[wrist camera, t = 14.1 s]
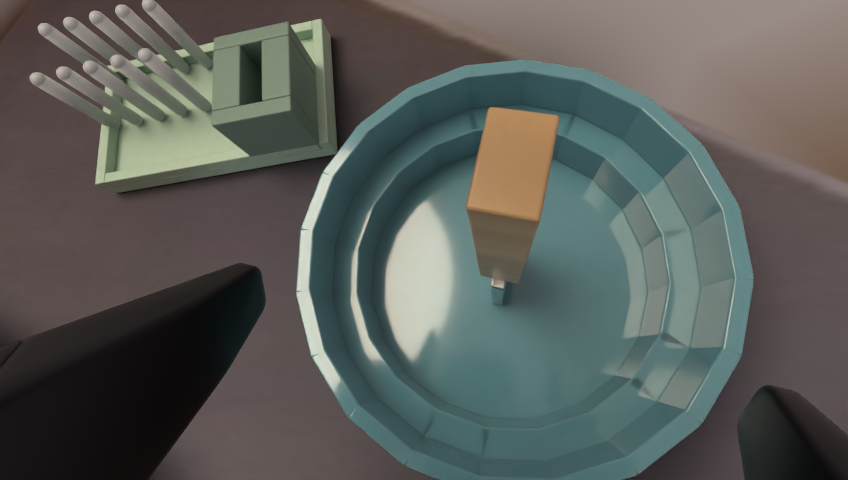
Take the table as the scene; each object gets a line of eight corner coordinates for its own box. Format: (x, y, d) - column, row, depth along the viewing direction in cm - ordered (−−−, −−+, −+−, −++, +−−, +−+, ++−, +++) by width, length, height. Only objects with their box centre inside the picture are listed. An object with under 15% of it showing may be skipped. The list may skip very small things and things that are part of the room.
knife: (511, 308, 20) (537, 237, 8) (482, 301, 20) (461, 223, 8) (522, 251, 21) (563, 100, 8) (493, 245, 21) (491, 91, 9)
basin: (559, 543, 18) (586, 623, 13) (283, 317, 22) (217, 307, 17) (749, 230, 20) (842, 186, 15) (460, 79, 24) (450, 3, 19)
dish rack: (338, 154, 24) (290, 94, 19) (116, 193, 26) (11, 149, 20) (330, 36, 26) (286, -50, 21) (126, 79, 28) (34, 11, 22)
